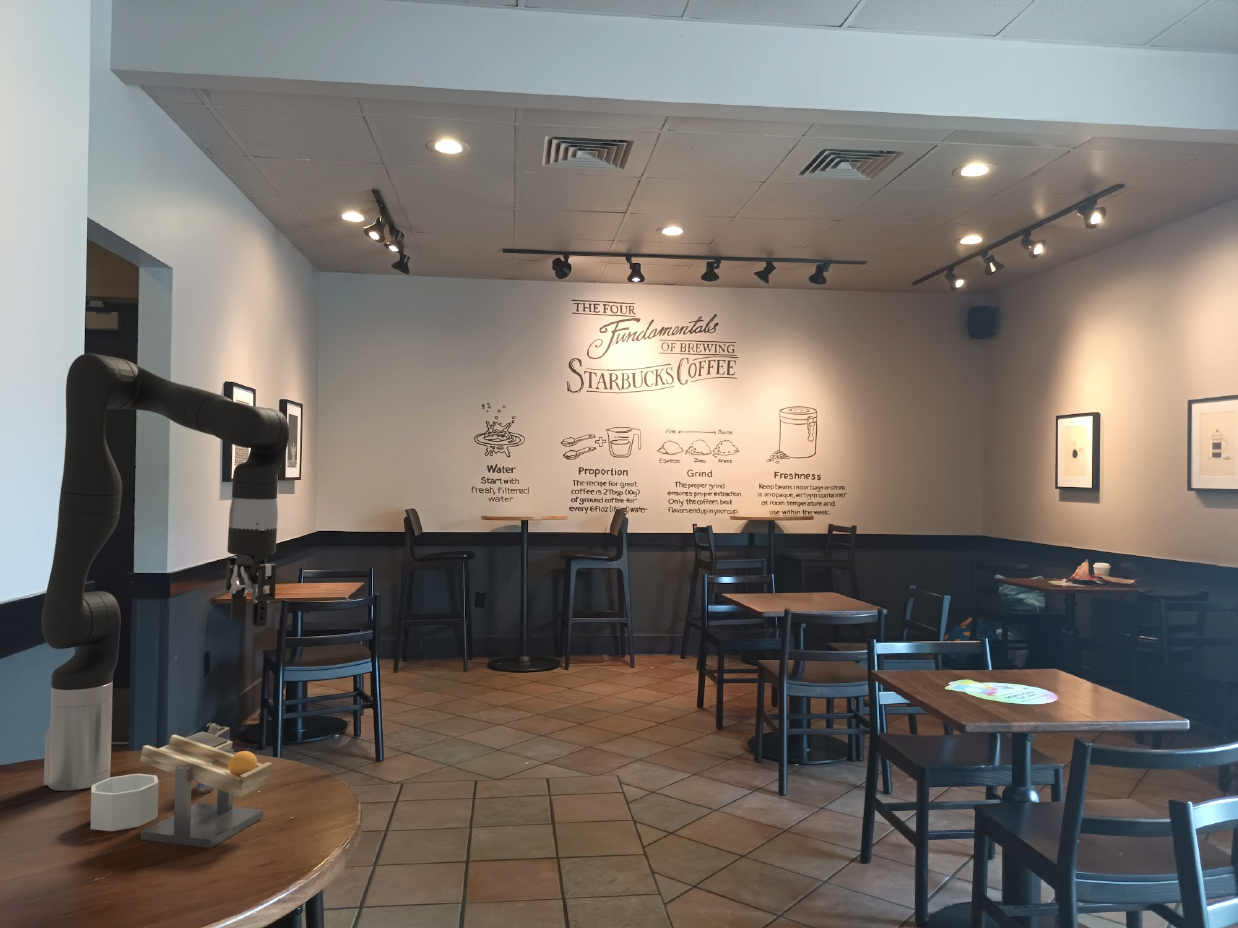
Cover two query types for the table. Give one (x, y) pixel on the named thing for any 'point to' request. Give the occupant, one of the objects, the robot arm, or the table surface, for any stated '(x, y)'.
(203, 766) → the lever
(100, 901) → the table surface
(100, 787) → the cup
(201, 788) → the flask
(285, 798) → the table surface
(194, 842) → the lever stand
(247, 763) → the ball
